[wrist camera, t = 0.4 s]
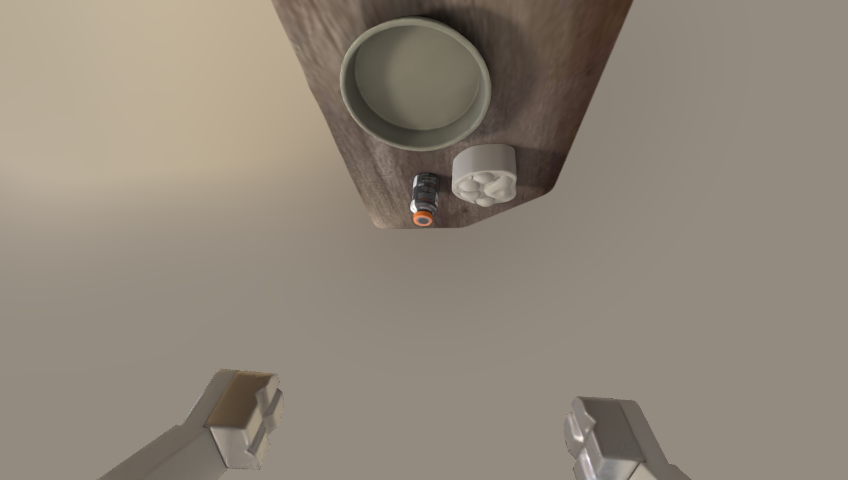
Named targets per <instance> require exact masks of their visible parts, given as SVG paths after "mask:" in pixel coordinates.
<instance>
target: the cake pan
mask: <svg viewBox="0 0 848 480" xmlns="http://www.w3.org/2000/svg"><path fill="white" fill-rule="evenodd" d="M340 86H341V92H342V96H343V99H344V102H345V105H346V107H347V109H348V111H349V112H350V114H351V115H352V117H353V118H354V119H355V121H356V122H357V123H358V124H359V125H360V126H361V127H362V128H363V129H364V130H365V131H366V132H368V133H369V134H370V135H372V136H373V137H375V138H376V139H378V140H380V141H382V142H384V143H386V144H388V145H391V146H394V147H397V148H401V149H405V150H412V151H430V150H437V149H442V148H445V147H448V146H451V145H453V144H456V143H458V142H459V141H461V140H463V139H464V138H466V137H467V136H468V135H470V134H471V133H472V132H473V131H474V130H475V129H476V128H477V127H478V126H479V124H480V123H481V122H482V120H483V118H484V117H485V115H486V113H487V110H488V107H489V104H490V99H491V81H490V76H489V72H488V69H487V66H486V64H485V62H484V60H483V58H482V56H481V55H480V53H479V52H478V50H477V49H476V48H475V47H474V46H473V45H472V44H471V43H470V42H469V41H468V40H467V39H466V38H465V37H464V36H462V35H460V34H459V33H458V32H457V31H456V30H454V29H453V28H451V27H450V26H448V25H446V24H444V23H442V22H440V21H437V20H435V19H431V18H427V17H420V16H406V17H399V18H395V19H392V20H389V21H387V22H384V23H382V24H379V25H377V26H375V27H373V28H371V29H369V30H368V31H366V32H364V33H363V34H362V35H361V36H360V37H359V38H358V39H357V40H356V41H355V42H354V43H353V44H352V46H351V47H350V48H349V50H348V51H347V53H346V56H345V58H344V60H343V63H342V67H341V73H340Z"/></svg>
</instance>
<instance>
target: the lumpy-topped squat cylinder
mask: <svg viewBox="0 0 848 480" xmlns="http://www.w3.org/2000/svg"><path fill="white" fill-rule="evenodd" d="M516 180H517V175H516V159H515V150H514V148H513V147H511V146H510V145H507V144H482V145H476V146H472V147H469V148H467V149H466V150H464V151H462V152H461V153H459V154H458V155H457V156H456V158H455V159H454V161H453V174H452V191H453V193H454V194H455V195H456V196H457V197H459V198H460V199H462V200H465V201H468V202H471V203H476V204H479V205H481V206H483V207H488V206H491V205H492V204H493V203H501V202H507V201H510V200H511V199H513V198H514V197H515V196H516Z"/></svg>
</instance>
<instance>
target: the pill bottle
mask: <svg viewBox="0 0 848 480" xmlns="http://www.w3.org/2000/svg"><path fill="white" fill-rule="evenodd" d="M438 194H439V179H438V178H437V177H436V176H435V175H432V174H429V173H422V174H419V175H417V176H416V177H415V179H414V184H413V192H412V200H411V212H412V214H413V215H414V222H415V223H416V224H418V225H421V226H426V225H429V224H431V222H432V217H434V216H435V215H436V213H437V207H438Z"/></svg>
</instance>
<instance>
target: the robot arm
mask: <svg viewBox="0 0 848 480" xmlns="http://www.w3.org/2000/svg"><path fill="white" fill-rule="evenodd" d="M279 383H280V381H279V377H278V374H272V373H261V372H251V371H241V370H230V369H220V370H219V371H218V372H217V373H216V374H215V375H214V376H213V377H212V379H211V381H210V382H209V384H208V385H207V387H206V389H205V390H204V392H203V393H202V394H201V396H200V397H199V399H198V400H197V402H196V403H195V405H194V407H193V408H192V410H191V411H190V413H189V414H188V416H187V417H186V419H185V420H184V422H183V424H182V425H175V426H174V427H172V428H171V429H169V430H168V431H166V432H165V433H164V434H162V435H161V436H159V437H158V438H157V439H155V440H154V441H152V442H151V443H149V444H148V445H146V446H145V447H143V448H142V449H141V450H139V451H138V452H136V453H135V454H133V455H132V456H131V457H129V458H128V459H126V460H125V461H123V462H122V463H120V464H119V465H118V466H116V467H115V468H113V469H112V470H110V471H109V472H108V473H107V474H105V475H103V476H102V477H100V478H99V479H98V480H218V479H219V478H220V477H221V476H222V475H223V474H224V472H226V471H227V469H226V468H232V469H252V470H260V467H261V465H262V462H263V460H264V458H265V455H266V453H267V451H268V448H269V445H270V442H269V438H268V435H269V434H270V433H271V432H272V431H274V430H275V429H276V428H277V426H278V424H279V421H280V419H281V415H282V411H283V406H284V404H283V403H284V398H283V393H282V391H280V390H279V389H278V388H277V387H278V385H279ZM572 407H573V410H574V411H572V412H570V413H569V414H567V417H566V419H565V422H564V435H565V442H566V445H567V449H568V451H569V452H570V454H571V455H572V456H573V457H574V458H575V459H576V462H575V464H574V467H573V470H574V474H575V477H576V480H691V479H690V478H689V477H688V476H687V475H686V474H684V473H683V472H682V471H681V470H680V469H679V468H678V467H677V466H676V465H671V464H669V463H668V461H667V459H666V458H665V456H664V454H663V452H662V450H661V448H660V446H659V444H658V442H657V440H656V438H655V436H654V434H653V432H652V430H651V428H650V426H649V424H648V422H647V420H646V418H645V416H644V414H643V412H642V410H641V408H640V407H639V405H638V404H637V403H636V402H635V401H632V400H617V399H612V398H596V397H576V398H574V400H573V402H572Z"/></svg>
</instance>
